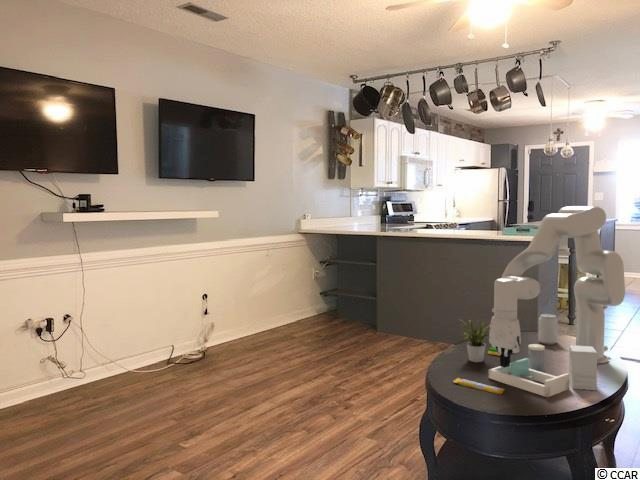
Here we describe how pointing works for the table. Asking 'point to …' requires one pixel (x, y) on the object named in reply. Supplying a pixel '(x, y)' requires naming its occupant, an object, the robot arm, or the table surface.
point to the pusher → (521, 369)
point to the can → (548, 329)
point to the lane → (551, 382)
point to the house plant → (475, 343)
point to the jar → (536, 357)
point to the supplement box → (583, 367)
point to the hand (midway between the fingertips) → (505, 366)
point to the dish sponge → (493, 351)
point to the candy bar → (478, 386)
